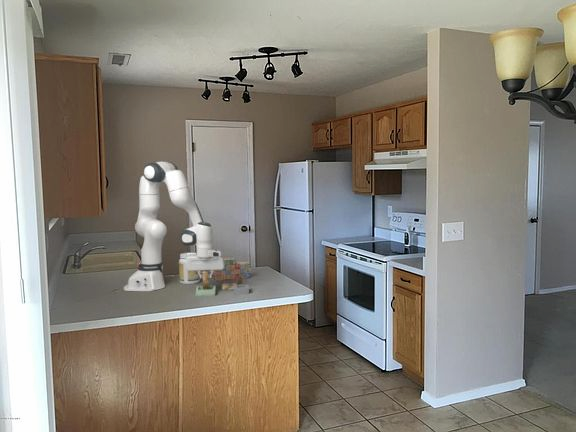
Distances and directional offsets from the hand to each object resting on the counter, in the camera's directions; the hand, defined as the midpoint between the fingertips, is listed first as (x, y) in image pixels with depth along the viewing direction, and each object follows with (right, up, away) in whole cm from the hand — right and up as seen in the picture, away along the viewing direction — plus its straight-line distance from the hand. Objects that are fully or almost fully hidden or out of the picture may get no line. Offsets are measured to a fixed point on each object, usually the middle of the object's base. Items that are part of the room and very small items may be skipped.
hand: (205, 278), depth 263 cm
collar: (+19, -8, +4) cm, 21 cm away
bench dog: (+17, -7, +12) cm, 22 cm away
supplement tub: (-14, -6, +27) cm, 30 cm away
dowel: (0, -6, +1) cm, 6 cm away
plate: (+11, -8, +12) cm, 18 cm away
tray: (0, -8, +1) cm, 8 cm away
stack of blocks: (+10, -5, +36) cm, 38 cm away
